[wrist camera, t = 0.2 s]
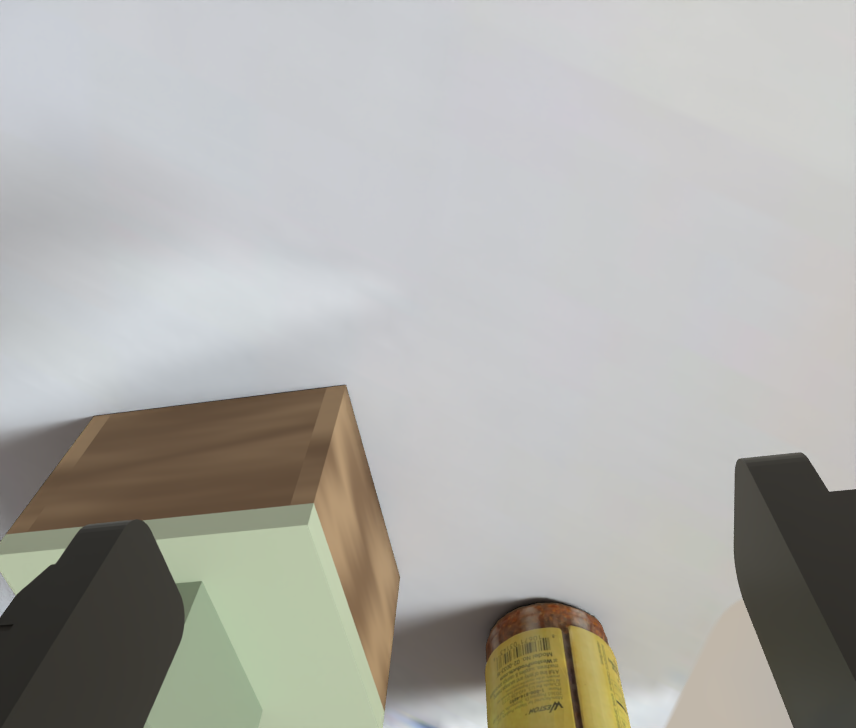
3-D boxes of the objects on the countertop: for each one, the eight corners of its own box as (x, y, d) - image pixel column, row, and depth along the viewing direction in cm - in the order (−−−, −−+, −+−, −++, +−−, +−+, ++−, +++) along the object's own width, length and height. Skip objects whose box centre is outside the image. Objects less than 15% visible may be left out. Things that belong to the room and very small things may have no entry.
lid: (20, 514, 27) (-111, 689, 21) (319, 482, 25) (270, 662, 19) (136, 705, 32) (59, 887, 26) (387, 689, 31) (365, 878, 25)
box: (93, 416, 32) (5, 534, 26) (345, 384, 30) (313, 503, 24) (183, 595, 37) (127, 727, 32) (400, 577, 36) (384, 711, 30)
